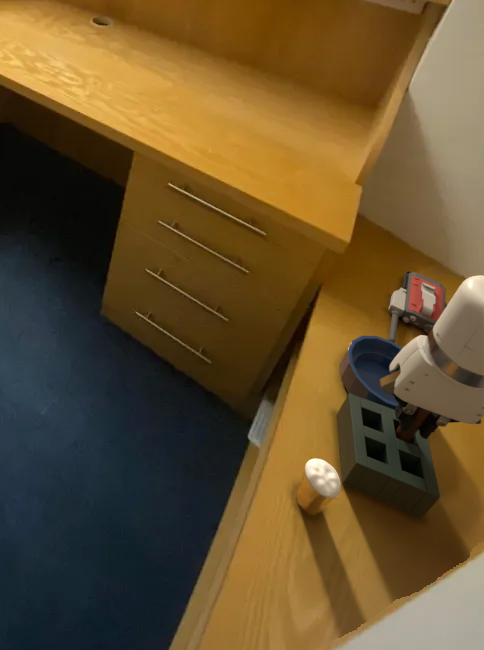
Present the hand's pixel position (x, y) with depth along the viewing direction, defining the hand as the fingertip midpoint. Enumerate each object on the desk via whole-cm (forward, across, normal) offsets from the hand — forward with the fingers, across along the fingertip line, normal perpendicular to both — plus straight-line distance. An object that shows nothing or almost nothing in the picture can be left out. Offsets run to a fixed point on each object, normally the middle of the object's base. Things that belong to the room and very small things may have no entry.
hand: (411, 423), depth 76 cm
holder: (+10, +2, +2) cm, 10 cm away
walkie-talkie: (+10, -8, -29) cm, 32 cm away
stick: (+10, 0, 0) cm, 10 cm away
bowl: (+10, 0, -11) cm, 14 cm away
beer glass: (+10, +12, +12) cm, 20 cm away
